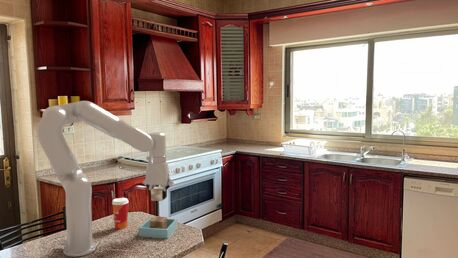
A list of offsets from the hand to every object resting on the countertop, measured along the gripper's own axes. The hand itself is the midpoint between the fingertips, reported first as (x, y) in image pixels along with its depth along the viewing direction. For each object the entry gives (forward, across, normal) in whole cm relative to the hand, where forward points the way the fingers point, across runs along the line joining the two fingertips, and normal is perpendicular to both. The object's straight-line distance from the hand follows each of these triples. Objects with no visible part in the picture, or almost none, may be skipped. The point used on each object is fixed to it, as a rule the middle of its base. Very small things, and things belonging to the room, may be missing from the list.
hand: (158, 198), depth 158 cm
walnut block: (+16, 0, 0) cm, 16 cm away
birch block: (+1, 0, 0) cm, 1 cm away
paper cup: (+17, -20, +2) cm, 26 cm away
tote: (+17, 0, 0) cm, 17 cm away
